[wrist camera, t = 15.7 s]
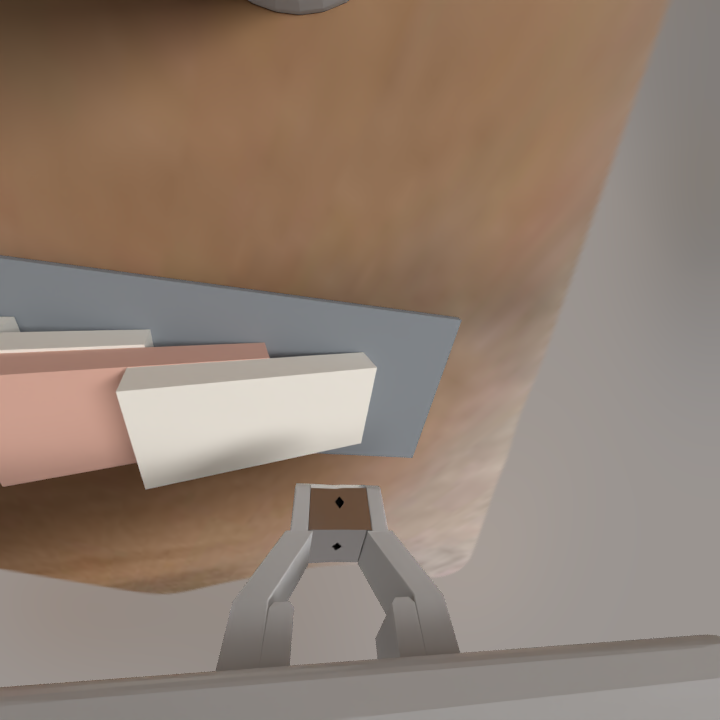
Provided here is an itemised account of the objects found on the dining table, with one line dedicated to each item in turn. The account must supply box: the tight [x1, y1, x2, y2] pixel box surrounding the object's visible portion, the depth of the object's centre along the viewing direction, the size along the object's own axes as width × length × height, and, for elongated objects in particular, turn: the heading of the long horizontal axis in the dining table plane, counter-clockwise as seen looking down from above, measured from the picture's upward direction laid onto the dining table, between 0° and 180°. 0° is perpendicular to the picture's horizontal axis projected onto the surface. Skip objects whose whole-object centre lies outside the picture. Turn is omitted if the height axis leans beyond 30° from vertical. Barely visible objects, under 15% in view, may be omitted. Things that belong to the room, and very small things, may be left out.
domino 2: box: [0, 342, 270, 487], centre depth 13 cm, size 2×5×10 cm
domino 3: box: [116, 352, 377, 490], centre depth 13 cm, size 2×5×10 cm
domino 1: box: [0, 329, 154, 353], centre depth 12 cm, size 2×5×10 cm
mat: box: [0, 255, 461, 458], centre depth 15 cm, size 27×10×1 cm, turn 80°
